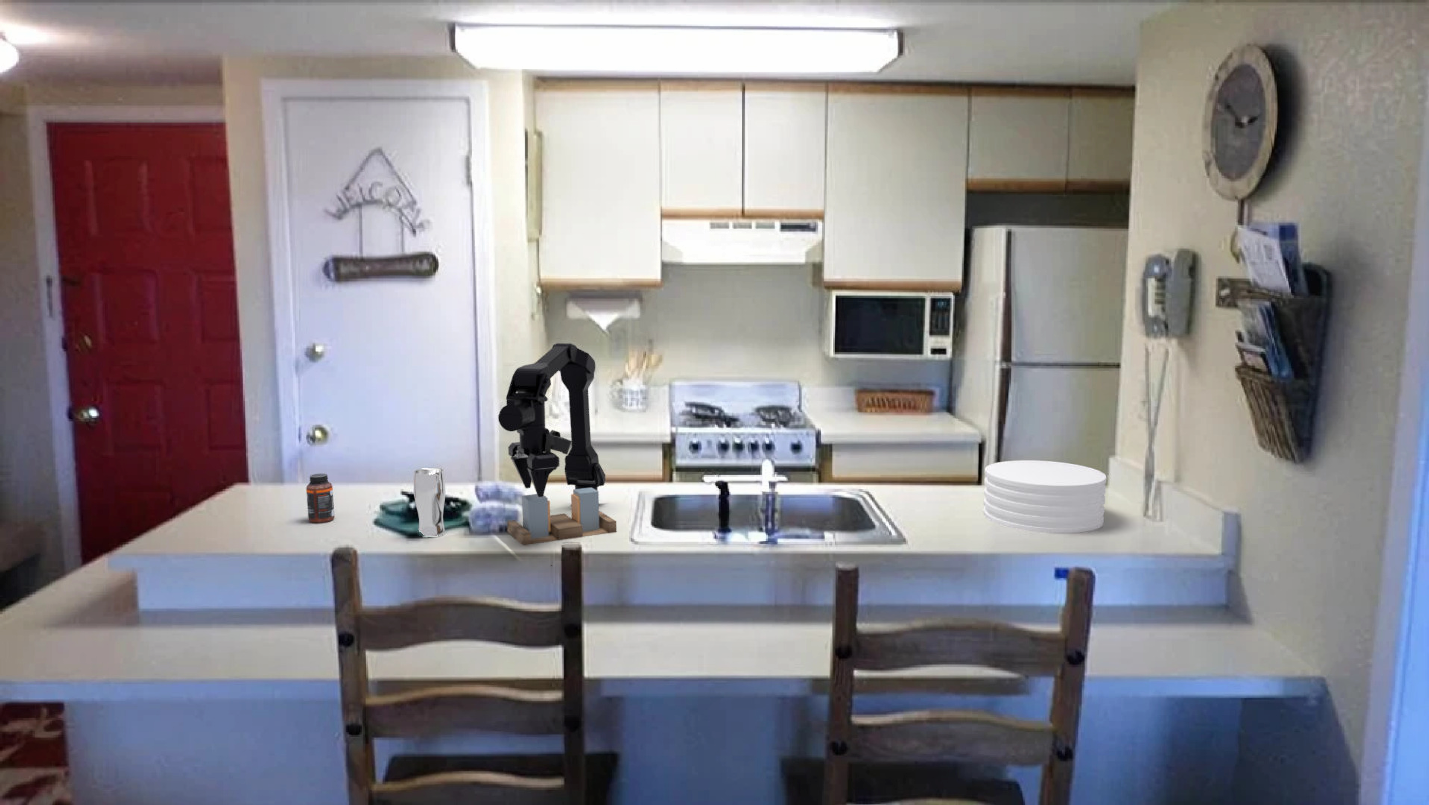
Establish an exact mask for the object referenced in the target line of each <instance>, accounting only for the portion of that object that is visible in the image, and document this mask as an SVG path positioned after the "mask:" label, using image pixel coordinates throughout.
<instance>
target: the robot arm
mask: <svg viewBox="0 0 1429 805" xmlns="http://www.w3.org/2000/svg"><path fill="white" fill-rule="evenodd" d="M595 371H596V361H595V359H594V357H592V356H591V355H590V354H589V353H588V352H586V351H584V350H582V349H580V348H578V347H577V345H575V344H574V343H570V342H568V343H567V342H565V343H563V342H557V343H555V344H552V348H550V349H549V350H548V351H547V352H546V353H545V354H544V355H542V356H541V357H540V358H538V360H537V361H535V362H533V363H530V364H525V365H521V366H520V367H517V368H516V369H515V371H514V373H513V374H512V377H511V380H510V383H509V387H508V390H507V394H506V397H505V400H506V402H505V404H506V405H504V406H503V407H502V408H501V409H500V411H499V414H498V418H497V419H498V422H499V425H500V426H501V427H502V429H503V430H505V431H507V432H516V433H518V434H519V441H517V442H511V443H510V444H509V446H507V447H508V448H507V449H508V456H510V460H511V461H512V464H513V465H514V468H515V469H516V471H517V473H518V475H519V477H520V479H521V481H522V484H523V486H524V488H525V489H530V488H531V486H532V484H533V487H534V490H535V492H536V493H535V494H537V495H538V497H543V495H544V496H545V491H546V487H547V484H548V479H549V476H550V474H551V473H552V472H554V471H556V470H557V469H558V467H560V457H559V456H558V455H557V454H556V453H553V452H552V451H551V450H553V451H557V452H560V453H562V454H564V455H565V457H564V463H565V465H564V473H565V474H564V475H565V480H566V484H567V486H574V489H582V488H593V489H595V490H597V491H598V492H599V490H598V487H602V486H605V483H606V473H605V471H604V469H603V468H602V465H601V464H600V462H599V461H600V460H599V454H598V453H597V451H596V449H595V448H594V447H593V446H592V438H591V436H592V435H591V421H590V417H591V416H590V400H589V398H590V397H589V388H590V386H591V385H592V383H593V381H594V379H595ZM558 372H560V380H561V382H562V383H563V385H564V386H565V388H566V389H567V391H568V406H569V420H570V421H569V423H570V436H571V437H570V440H569V439H567V438H565V437H562V436H561V433H560V431H557V430H554V429H551V430H550V429H548V428H547V427H546V408H545V406H546V402H548V397H547V396H546V394H547V392H548V390H549V388H550V387H551V386H552V382H551V379H552V378H553V377H554V375H556V374H557V373H558Z"/></svg>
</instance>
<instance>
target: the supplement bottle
mask: <svg viewBox="0 0 1429 805" xmlns="http://www.w3.org/2000/svg"><path fill="white" fill-rule="evenodd" d="M328 479H329V478H328V474H327V473H314V474H310V475H309V483H308V484H307V485H306V488H305V489H306V504H307V518H308V522H310V523H314V524H321V523H327V522H331V521H333V520H334V519H335V506H334V491H333V488H334V487H333V484H332V483H331V482H329V481H328Z"/></svg>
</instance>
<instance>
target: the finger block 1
mask: <svg viewBox="0 0 1429 805" xmlns="http://www.w3.org/2000/svg"><path fill="white" fill-rule="evenodd" d="M521 507H522V511H521V512H522V526H523V527H524V528H525V529H526V530H528V531H529V532H530V533H531V539H534V538H542V537H549V535H548V532H551V527H550V515H551V502H550V500H548V497H547V496H546V495H545V494H544V495H543V497H538V495H537V493H534V494H533V493H532V494H525V495H524V494H523V495H521Z"/></svg>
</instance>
